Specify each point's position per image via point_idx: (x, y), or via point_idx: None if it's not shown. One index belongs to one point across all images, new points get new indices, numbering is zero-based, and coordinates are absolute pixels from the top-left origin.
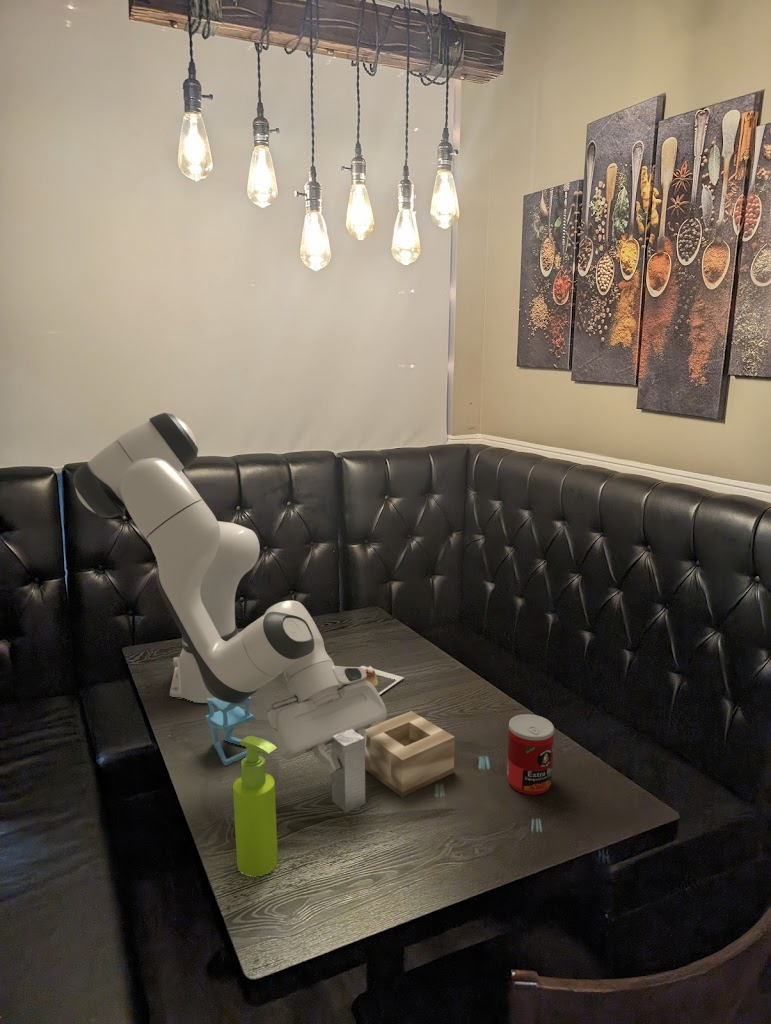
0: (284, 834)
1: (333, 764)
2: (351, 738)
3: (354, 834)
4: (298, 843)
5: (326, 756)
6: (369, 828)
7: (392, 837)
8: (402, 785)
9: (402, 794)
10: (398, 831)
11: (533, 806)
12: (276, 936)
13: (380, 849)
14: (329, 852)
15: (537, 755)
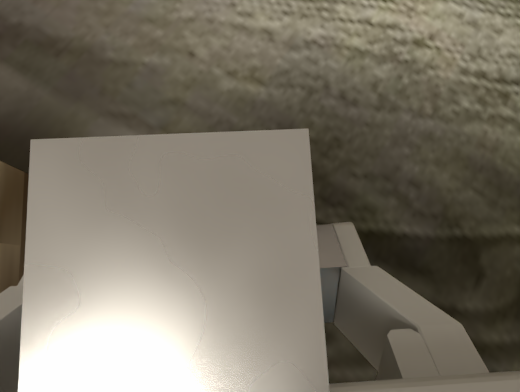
0: (507, 244)
1: (344, 239)
2: (157, 218)
3: (302, 108)
4: (482, 175)
5: (395, 287)
6: (243, 104)
7: (207, 28)
8: (5, 163)
9: (28, 174)
10: (172, 39)
11: None
12: None
13: (271, 7)
14: (412, 83)
15: None
